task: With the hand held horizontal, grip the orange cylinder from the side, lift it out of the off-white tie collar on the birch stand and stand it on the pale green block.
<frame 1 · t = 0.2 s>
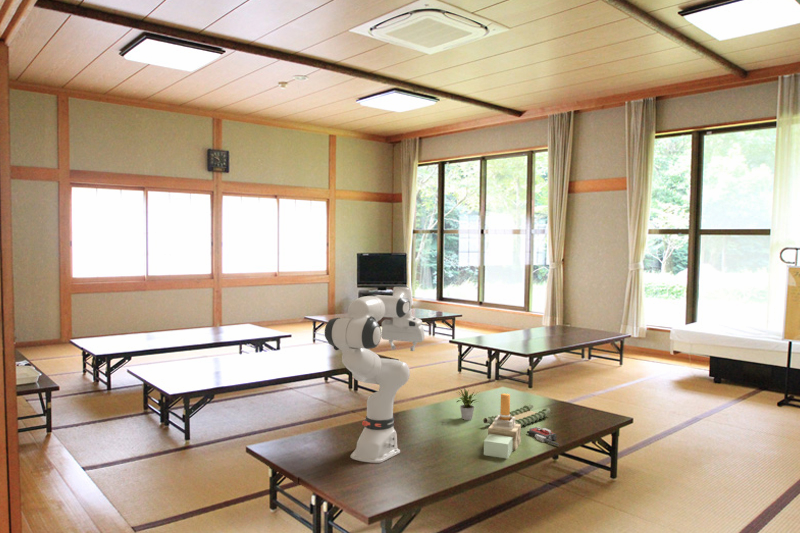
hand: (402, 350, 259), 39 cm above the table, tool pointing down, fingers open, 8 cm apart
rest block: (498, 452, 237), on the table
tie stand: (504, 444, 248), on the table
house plant: (464, 418, 286), on the table
stretcher: (517, 422, 282), on the table
walkie-talkie: (546, 440, 256), on the table
orange cylinder: (504, 423, 248), point 9 cm above the table, touching tie stand
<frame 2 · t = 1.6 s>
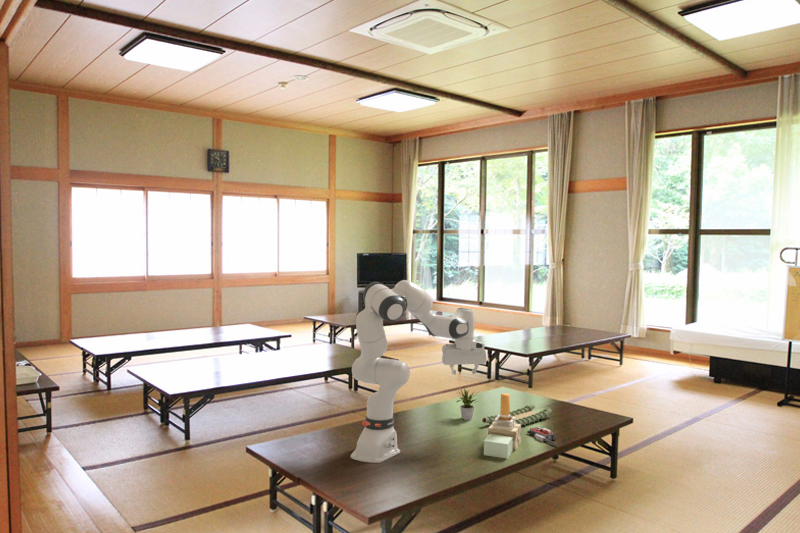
hand: (463, 374, 255), 29 cm above the table, tool pointing down, fingers open, 8 cm apart
nothing on the table moved.
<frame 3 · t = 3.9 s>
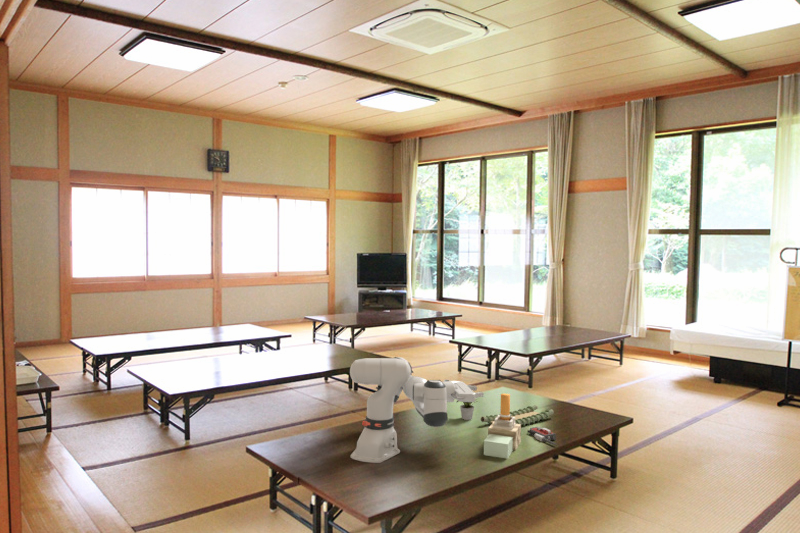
hand: (479, 391, 246), 24 cm above the table, tool horizontal, fingers open, 8 cm apart
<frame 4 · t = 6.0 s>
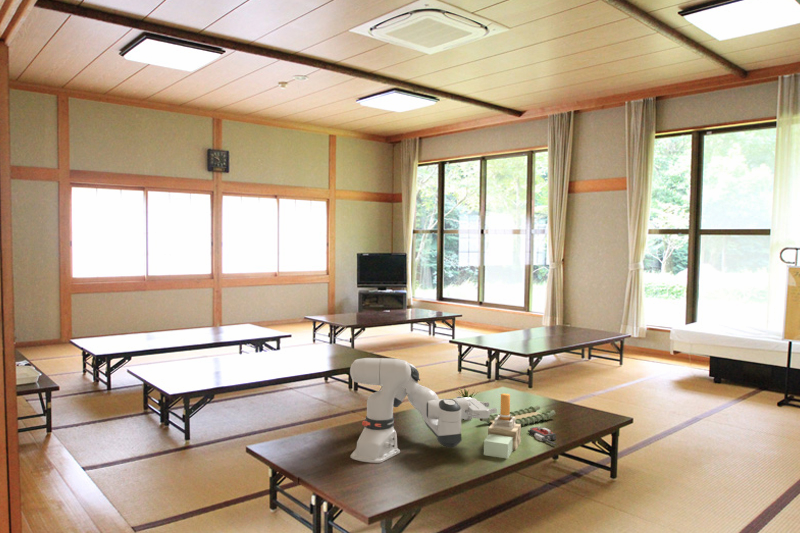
hand: (492, 407, 247), 16 cm above the table, tool horizontal, fingers open, 8 cm apart
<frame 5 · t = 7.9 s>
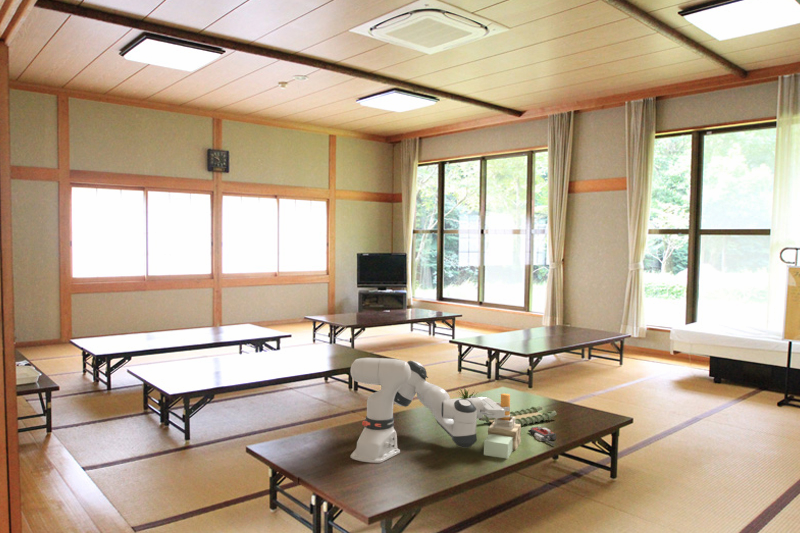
hand: (507, 406, 248), 17 cm above the table, tool horizontal, fingers closed on orange cylinder, 4 cm apart
orange cylinder: (504, 423, 248), point 9 cm above the table, touching gripper, tie stand
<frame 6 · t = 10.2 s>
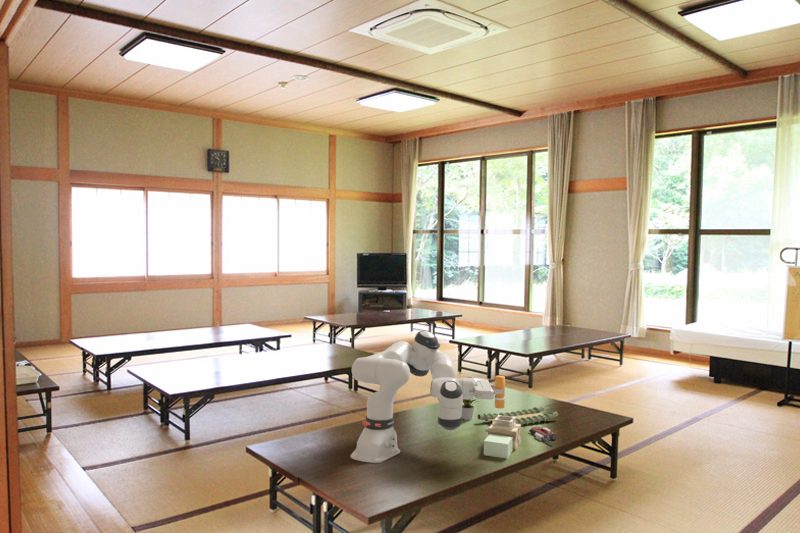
hand: (501, 389, 237), 27 cm above the table, tool horizontal, fingers closed on orange cylinder, 4 cm apart
orange cylinder: (499, 407, 237), point 19 cm above the table, touching gripper
when the fingers open (16 cm above the table, at t = 12.8 s): orange cylinder drops 2 cm, resting on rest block.
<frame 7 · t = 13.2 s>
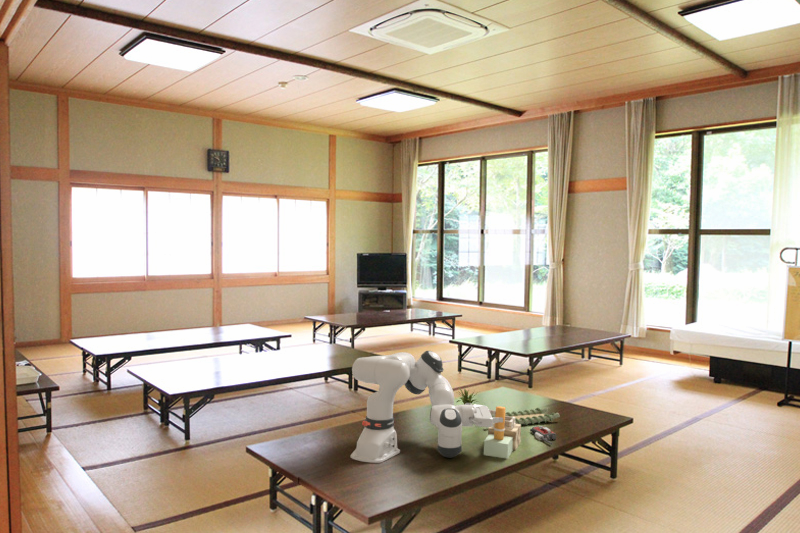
hand: (501, 416, 237), 16 cm above the table, tool horizontal, fingers open, 8 cm apart
orange cylinder: (498, 438, 237), point 6 cm above the table, touching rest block
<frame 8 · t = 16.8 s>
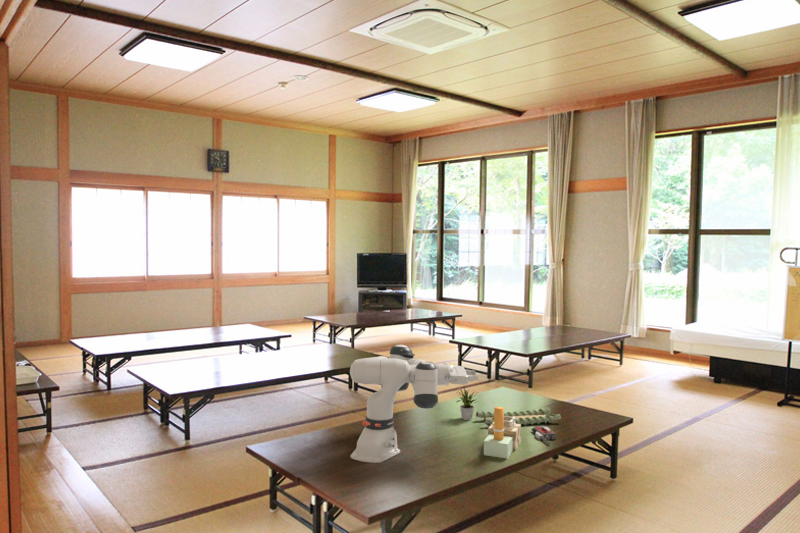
hand: (476, 375, 240), 32 cm above the table, tool horizontal, fingers open, 8 cm apart
at the end: orange cylinder inside the target area on the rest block (0.2 cm from its centre), point 6.0 cm above the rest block's base; orange cylinder tilted 1°; the gripper is holding nothing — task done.
